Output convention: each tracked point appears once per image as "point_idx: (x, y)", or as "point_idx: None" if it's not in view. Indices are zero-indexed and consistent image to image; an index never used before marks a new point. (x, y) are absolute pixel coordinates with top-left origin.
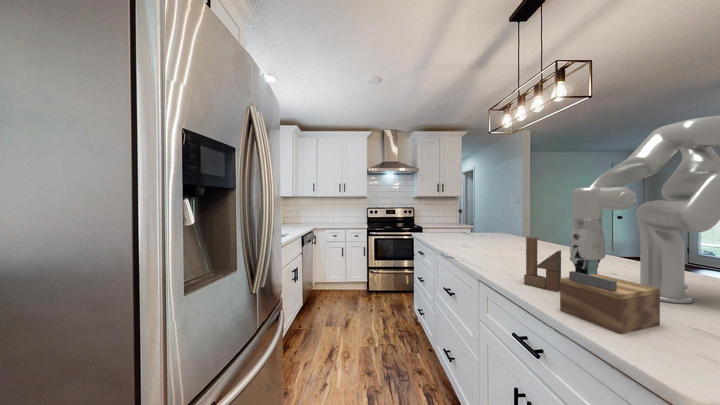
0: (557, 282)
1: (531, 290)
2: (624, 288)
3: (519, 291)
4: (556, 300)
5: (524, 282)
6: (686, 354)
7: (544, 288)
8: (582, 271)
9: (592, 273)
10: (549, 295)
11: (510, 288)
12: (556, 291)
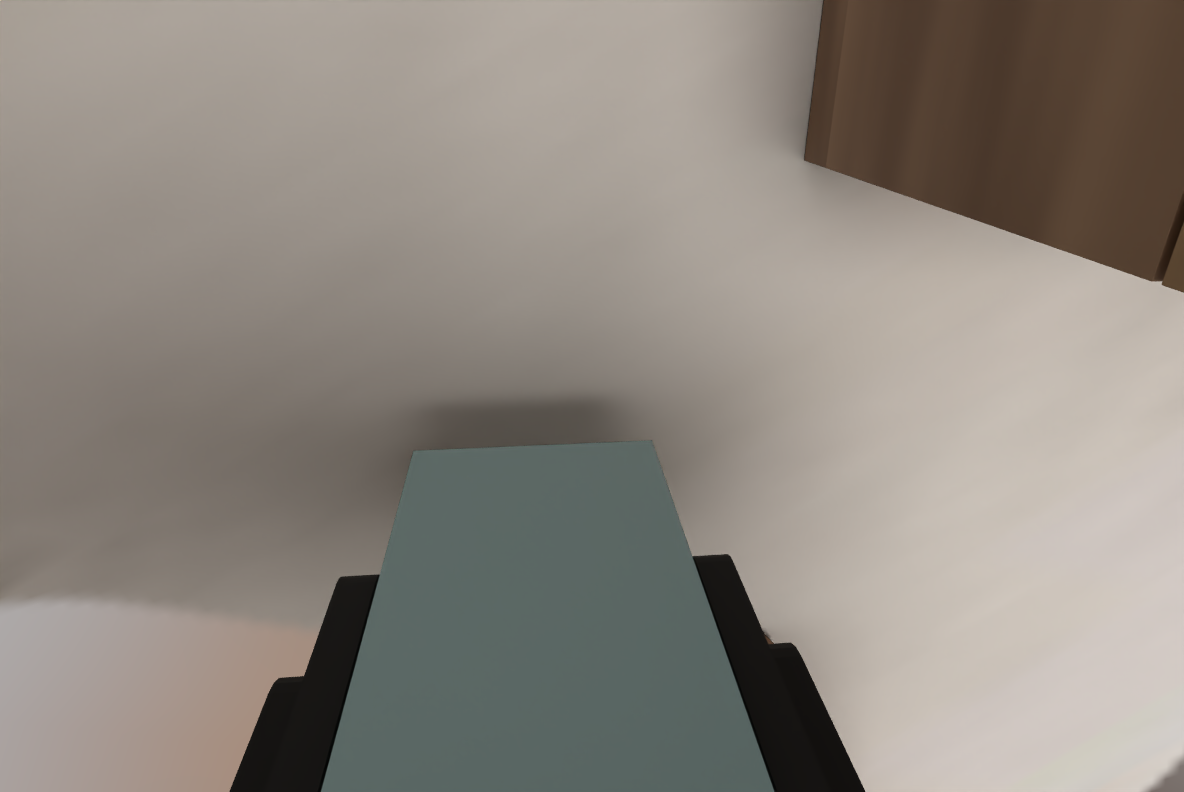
0: None
1: (985, 715)
2: None
3: (1137, 712)
4: (1118, 422)
5: None
6: None
7: None
8: (832, 777)
9: (556, 680)
10: (990, 563)
11: (1113, 788)
12: (766, 639)
